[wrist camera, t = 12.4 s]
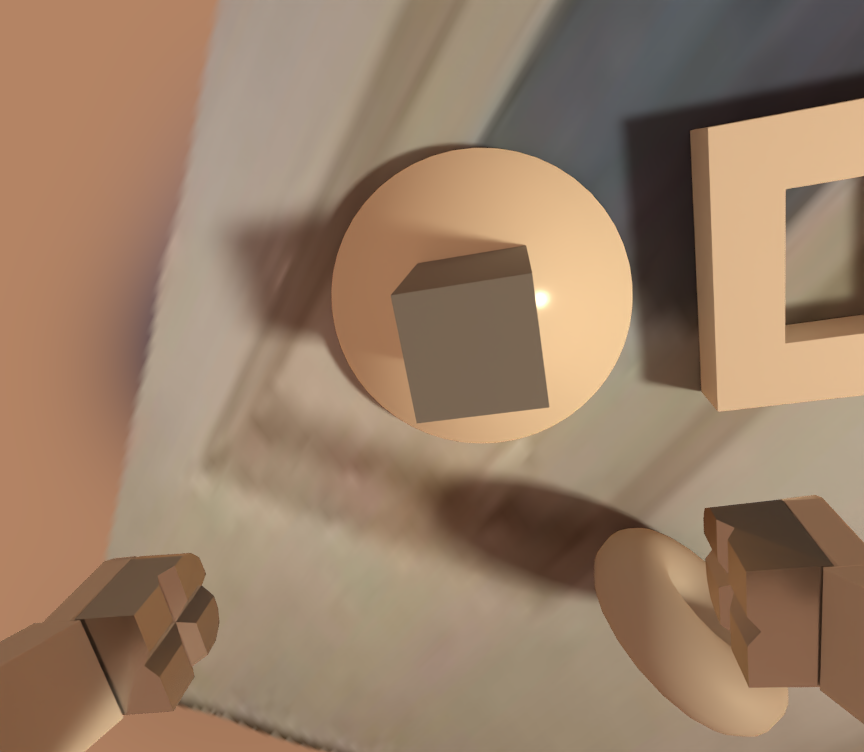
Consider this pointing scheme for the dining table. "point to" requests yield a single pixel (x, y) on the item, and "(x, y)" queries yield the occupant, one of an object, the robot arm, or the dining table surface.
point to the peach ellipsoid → (475, 233)
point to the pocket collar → (768, 258)
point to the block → (471, 336)
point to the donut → (679, 632)
